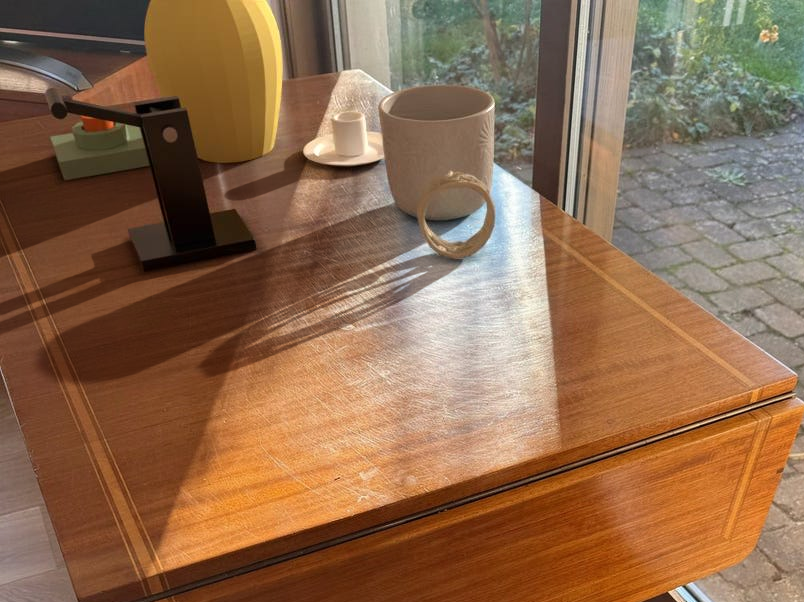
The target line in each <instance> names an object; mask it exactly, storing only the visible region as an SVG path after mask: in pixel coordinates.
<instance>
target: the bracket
mask: <svg viewBox="0 0 804 602" xmlns="http://www.w3.org/2000/svg"><path fill="white" fill-rule="evenodd" d="M133 107H134V111H135V112H134V113H137V114H141V115H140V116H141V120H142V124H143V128H140V131H141V135H142V139H143V143H144V147H145V151H146V155H147V159H148V162H149V166H148V167H149V170H150V175H151V178H152V182H153V186H154V190H155V194H156V198H157V201H158V205H159V209H160V213H161V217H162V222H156V223H151V224H145V225H140V226H135V227H130V228H127V229H126V230H127V233H128V236H129V240H130V242H131V245H132V247H133V249H134V251H135V254H136V256H137V258H138V262H139V264H140V265H141V267H142V270H143V272H144V273H148V272H152V271H157V270H163V269H167V268H172V267H173V268H174V267H176V266H177V267H178V266H181V265H187V264H193V263H198V262H203V261H207V260H212V259H217V258H221V257H226V256H231V255H236V254H237V255H238V254H242V253H247V252H252V251H256V250H258V248H257V242H256V238H255V237H254V235H253V234H252V232H251V231H250V229H249V228H248V226H247V225H246V223H245V221H244V220H243V219H242V217H241V215H240V214H239V213H238V211H237V210H236V208H231V209H226V210H221V211H220V210H219V211H216V212H210V208H209V203H208V198H207V193H206V189H205V185H204V182H203V176H202V171H201V167H200V162H199V158H198V157H197V153H196V148H195V144H194V139H193V135H192V130H191V126H190V121H189V117H188V112H187V110H186V108H185V107H184V108H181V105H180V101H179V98H178V96H173V97H166V98H163V97H161V98H160V97H159V98H155V99H148V100H142V101H134V102H133ZM149 107H153V108H157V109H162V110H165V111H159V112H153V113H149Z"/></svg>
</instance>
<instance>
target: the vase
mask: <svg viewBox="0 0 804 602" xmlns="http://www.w3.org/2000/svg"><path fill="white" fill-rule="evenodd" d="M143 32H144V33H143V34H144V47H145V52H146V57H147V60H148V64H149V67H150V70H151V73H152V75H153V78H154V81H155V83H156V86H157V87H158V90H159V92H160V94H161V96H162V98H166V97H173V96H178V98H179V101H180V105H181V108H184V107H185V108H186V110H187V112H188V117H189V121H190V126H191V130H192V135H193V139H194V144H195V148H196V153H197V157H198V159H200V160H202V161H205V162H210V163H215V164H219V163H220V164H221V163H222V164H231V163H241V162H246V161H251V160H254V159H257V158H260V157H263V156H265V155H267V154H268V153H270V152H271V151H272V150H273V148H274V147H275V142H276V137H277V131H278V125H279V117H280V109H281V100H282V90H283V50H282V42H281V36H280V35H281V34H280V31H279V27H278V24H277V20H276V18H275V15H274V13H273V10H272V9H271V7H270V5H269V3H268V2H267V1H266V0H150V2H149V4H148V7H147V10H146V14H145V20H144V31H143Z"/></svg>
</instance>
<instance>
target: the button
mask: <svg viewBox="0 0 804 602" xmlns="http://www.w3.org/2000/svg"><path fill="white" fill-rule="evenodd" d="M80 119H81V122H82V123H83V126H84V130H85V131H96V132H97V131H103V130H107V129H110V128H113V127H114V124H113V122H111V121H106V120H101V119H96V118H91V117H86V116H81V115H80Z"/></svg>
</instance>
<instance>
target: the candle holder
mask: <svg viewBox="0 0 804 602" xmlns="http://www.w3.org/2000/svg"><path fill="white" fill-rule="evenodd" d="M330 123H331V129H332V130H331V131H332V133H330V134H329V133H328V134H325V135H322V136H319V137H317V138H315V139H313V140H311V141H309V142H307V144H305V145H304V147H303V149H302V153H303V155H304V157H305V158H307V159H308V160H310V161H312V162H314V163H318V164H322V165H328V166H334V167H356V166H362V165H363V166H364V165H367V164H368V165H369V164H372V163H375V162H377V161H380V160H383V159H385V158H384V150H383V142H382V134H381V132H377V131H371V130H370V131H369V130H368V131H367V123H366V117H365V115H364V113H362V112H360V111H352V110H351V111H341V112H338V113H335V114H333V115H332V116H331V118H330Z"/></svg>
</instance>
